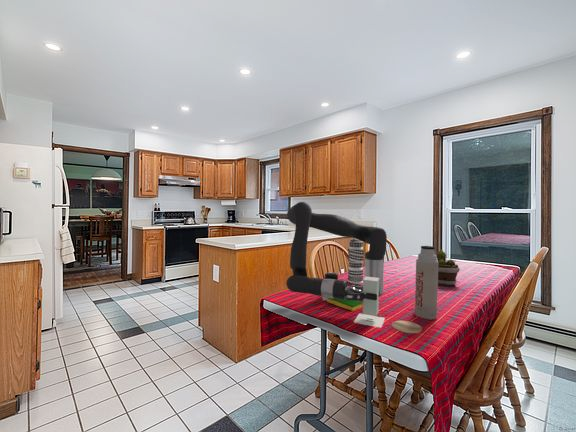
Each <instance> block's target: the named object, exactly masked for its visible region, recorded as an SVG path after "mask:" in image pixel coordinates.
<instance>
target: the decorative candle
mask: <svg viewBox="0 0 576 432" xmlns="http://www.w3.org/2000/svg"><path fill="white" fill-rule="evenodd" d="M348 242H349V245H348V249H347V251H348V252H347V258H348V259H347V260H348V261H347V262H348V269H347V273H348V274H347V283H349V282H350V284H354V285H355V284H358V285H361V284H363V279H364V273H363V272H364V270H363V263H364V259H365V256H363V255H365V249H364V245H363V243H364V242H363V241H361V240H358V239H355V238H352V237H351V239H350V240H348Z"/></svg>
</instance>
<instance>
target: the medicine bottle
mask: <svg viewBox="0 0 576 432" xmlns="http://www.w3.org/2000/svg"><path fill="white" fill-rule="evenodd" d="M338 278H339V275H338V274H337V273H336V272H326V273H325V274H324V279H335V280H339V279H338ZM322 301H326V302H327V297H324V296H322Z"/></svg>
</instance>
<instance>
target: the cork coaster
mask: <svg viewBox="0 0 576 432" xmlns="http://www.w3.org/2000/svg"><path fill="white" fill-rule="evenodd" d="M391 327H392V328H393V329H395V330H396V331H399V332H402V333H405V334H419V333H421V332H422V330H423V328H422V326H421V325H419V324H417V323H415V322H413V321H408V320H395V321H392V322H391Z"/></svg>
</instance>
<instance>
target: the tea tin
mask: <svg viewBox="0 0 576 432" xmlns="http://www.w3.org/2000/svg"><path fill="white" fill-rule="evenodd" d="M362 281H363V283H362V285H363V292H366V294H367V293H373V294H377V300H370V299H366V300H364V301H362V314H365V315H371V316H377V317H378V314H379V307H380V306H379V305H380V304H379V303H380V295H379V278H375V277H367V276H366V277H365V278H364V277H363V280H362Z"/></svg>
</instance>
